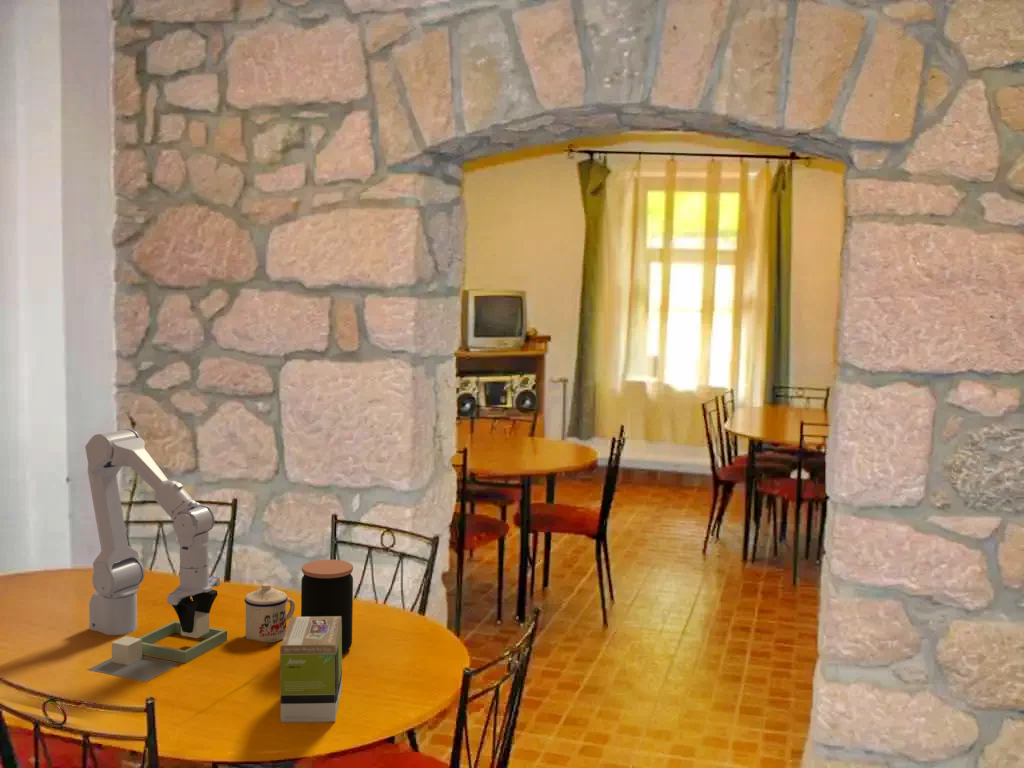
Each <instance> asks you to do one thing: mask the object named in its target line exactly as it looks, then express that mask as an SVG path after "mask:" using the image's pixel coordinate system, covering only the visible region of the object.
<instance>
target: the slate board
mask: <svg viewBox="0 0 1024 768" xmlns="http://www.w3.org/2000/svg"><path fill="white" fill-rule="evenodd" d="M180 664H181V662H179V663H178V662H176V661H171V660H166V659H161V658H156V657H151V656H146V655H144V656H143V655H142V659H140V660H138V661H136V662H134V663H132V664H130V665H125V664H120V663H115V662H112V657H110V658H109V659H107V660H104V661H103V662H99V663H98V664H95V665H94V666H92V667H90V668H87V670H88V671H90V672H91V671H92V672H95V673H101V674H105V675H111V676H115V677H120V678H125V679H129V680H134V681H138V682H144V683H147V682H148V681H151V680H152V679H154V678H157V677H158V676H160V675H162V674H163V673H166V672H168V671H169V670H171V669H173V668H175V667H177V666H178V665H180Z"/></svg>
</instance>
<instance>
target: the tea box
mask: <svg viewBox="0 0 1024 768" xmlns="http://www.w3.org/2000/svg"><path fill="white" fill-rule="evenodd" d="M288 621H289V622H288V625H287V626H286V633H285V635H284V638H283V639H282V641H281V644H280V648H279V649H280V650H279V667H280V669H279V674H280V675H279V680H280V682H279V683H280V685H279V686H280V693H279V694H280V695H279V696H280V697H279V699H280V700H279V701H280V703H279V704H280V722H281V723H328V722H329V723H331V722H335V721H336V719H337V713H338V711H339V710H338V709H339V704H340V701H341V700H340V699H341V694H342V690H343V654H342V618H341V616H321V617H301V616H293V615H292V617H291V618H290V619H289V620H288Z"/></svg>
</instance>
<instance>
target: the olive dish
mask: <svg viewBox="0 0 1024 768" xmlns="http://www.w3.org/2000/svg"><path fill="white" fill-rule="evenodd" d="M173 634H180V635H181V624H180V621H176V620H173V621H172V622H171V621H170V622H169V623H167V624H165V625H162V626H161V627H159V628H156V629H154V630H153V631H151V632H150V631H149V632H148V633H146V634H143V635H142V636H140V637H138V638H139V639H142V656H143V655H144V656H146V657H151V658H156V659H161V660H166V661H171V662H176V663H178V662H179V663H183V664H187V663H188V662H191V661H192V660H195V659H196V658H198V657H199V656H202V655H204V654H205V653H207V652H209V651H210V650H213V649H215V648H217V647H218V646H221V645H223V644H224V643H225V642H226V643H227V641H228V630H227V629H220V628H215V627H210V626H209V632H208V633H206V634H204V635H202V636H200V637H199V638H202V639H204V640H202V641H200V642H198V643H196V644H195V645H193V646H191V647H189V648H187V649H185V650H184V649H179V648H173V647H169V646H165V645H160V644H159V645H158V644H156V643H157V642H160V641H161V640H163V639H165V638H168V637H169V636H171V635H173Z"/></svg>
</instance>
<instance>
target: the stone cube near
mask: <svg viewBox="0 0 1024 768" xmlns="http://www.w3.org/2000/svg"><path fill="white" fill-rule="evenodd" d="M142 656H143V655H142V639H139V637H138V638H137V637H133V636H127V635H124V636H123V637H121V638H118V639H116V640H113V641H112V642H111V658H112V662H115V663H120V664H125V665H130V664H132V663H134V662H136V661H138V660H140V659H142Z"/></svg>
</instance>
